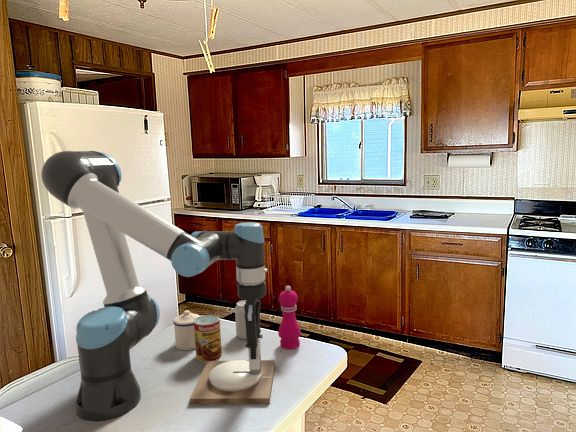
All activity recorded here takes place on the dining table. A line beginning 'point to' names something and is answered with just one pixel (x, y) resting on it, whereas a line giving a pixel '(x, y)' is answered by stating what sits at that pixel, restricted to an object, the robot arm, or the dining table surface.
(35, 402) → the dining table surface
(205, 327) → the canned food
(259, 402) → the dial board
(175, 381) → the dining table surface
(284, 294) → the pepper mill
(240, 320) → the can
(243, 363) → the dial
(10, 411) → the dining table surface
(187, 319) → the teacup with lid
